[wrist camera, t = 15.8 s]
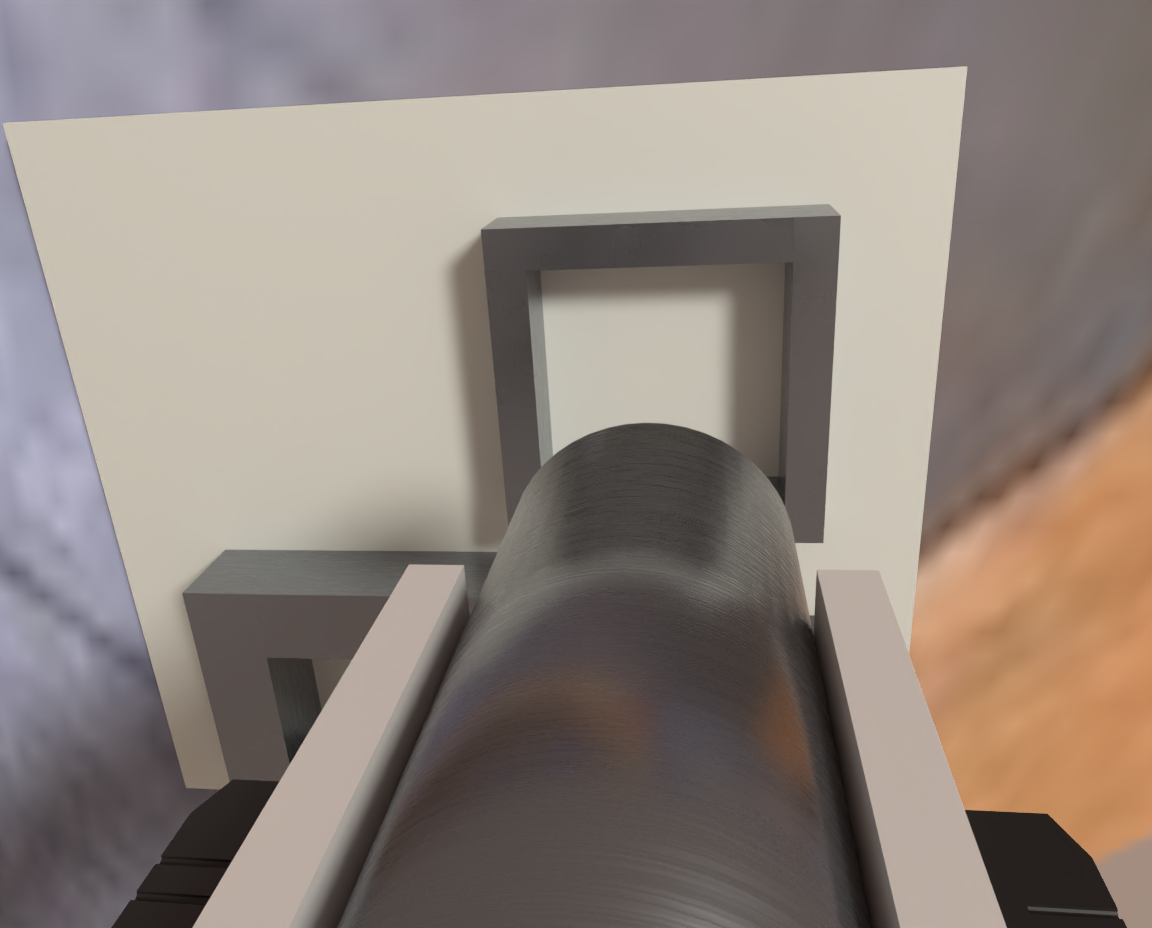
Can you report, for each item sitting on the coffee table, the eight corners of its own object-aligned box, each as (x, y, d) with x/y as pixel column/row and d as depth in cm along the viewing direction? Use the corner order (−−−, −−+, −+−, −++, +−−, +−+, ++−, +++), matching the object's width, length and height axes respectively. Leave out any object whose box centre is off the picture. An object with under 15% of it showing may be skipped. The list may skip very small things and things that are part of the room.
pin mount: (277, 780, 32) (244, 838, 29) (225, 549, 28) (181, 593, 26) (535, 791, 31) (521, 852, 28) (512, 551, 27) (495, 597, 25)
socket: (522, 509, 26) (509, 541, 25) (497, 217, 23) (480, 229, 22) (814, 509, 25) (823, 543, 24) (828, 204, 22) (840, 215, 20)
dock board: (197, 772, 33) (186, 787, 32) (23, 121, 25) (2, 123, 24) (887, 801, 30) (892, 819, 29) (958, 66, 22) (967, 66, 21)
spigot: (498, 424, 14) (-159, 1550, 3) (799, 420, 14) (1191, 1795, 3) (522, 670, 16) (139, 1940, 5) (790, 677, 15) (1005, 2142, 5)
